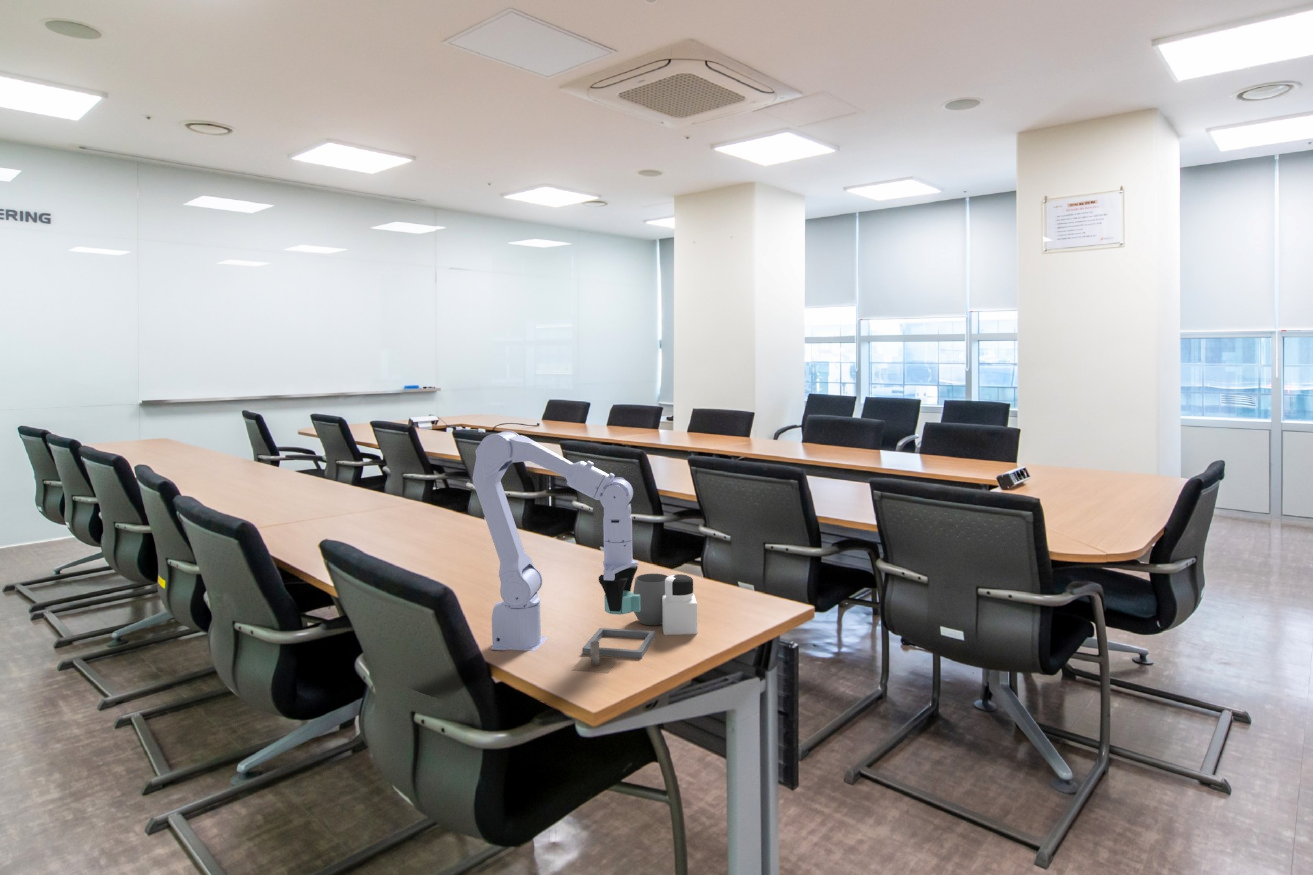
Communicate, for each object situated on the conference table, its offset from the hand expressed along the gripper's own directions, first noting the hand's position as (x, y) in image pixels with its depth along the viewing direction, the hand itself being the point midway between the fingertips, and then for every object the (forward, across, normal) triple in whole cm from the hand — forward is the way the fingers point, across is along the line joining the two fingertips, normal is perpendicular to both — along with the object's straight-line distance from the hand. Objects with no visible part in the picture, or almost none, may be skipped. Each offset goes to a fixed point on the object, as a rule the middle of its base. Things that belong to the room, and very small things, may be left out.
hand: (619, 605), depth 154 cm
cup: (+9, +17, -3) cm, 19 cm away
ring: (+1, 0, 0) cm, 1 cm away
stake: (+9, -10, +2) cm, 14 cm away
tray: (+9, 0, 0) cm, 9 cm away
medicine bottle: (+9, +12, -10) cm, 18 cm away
